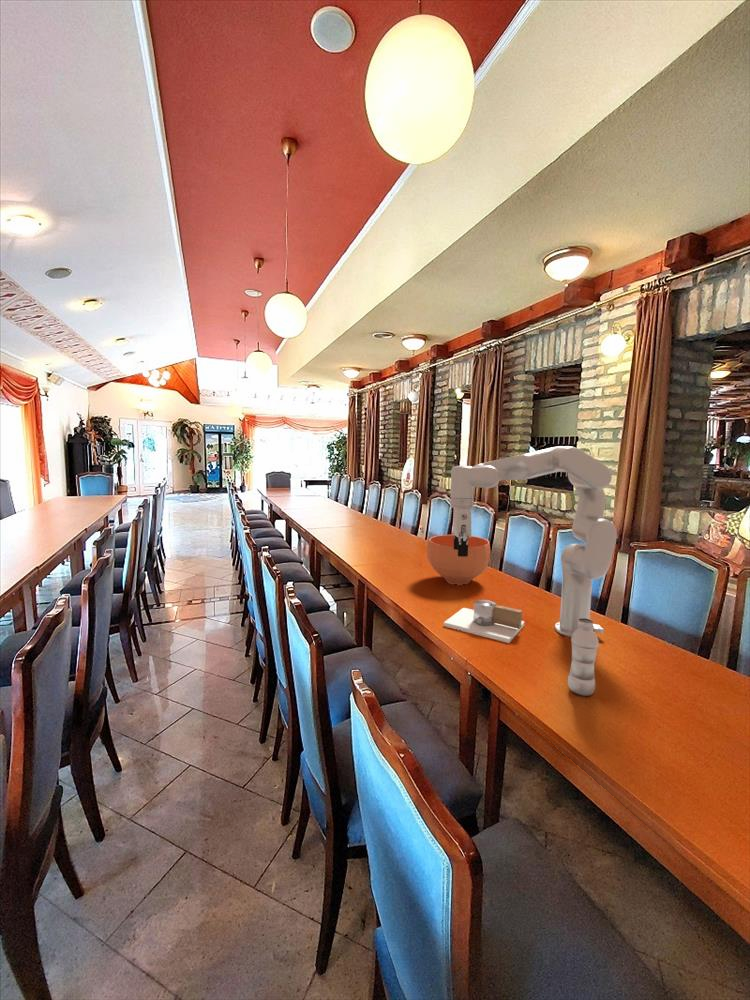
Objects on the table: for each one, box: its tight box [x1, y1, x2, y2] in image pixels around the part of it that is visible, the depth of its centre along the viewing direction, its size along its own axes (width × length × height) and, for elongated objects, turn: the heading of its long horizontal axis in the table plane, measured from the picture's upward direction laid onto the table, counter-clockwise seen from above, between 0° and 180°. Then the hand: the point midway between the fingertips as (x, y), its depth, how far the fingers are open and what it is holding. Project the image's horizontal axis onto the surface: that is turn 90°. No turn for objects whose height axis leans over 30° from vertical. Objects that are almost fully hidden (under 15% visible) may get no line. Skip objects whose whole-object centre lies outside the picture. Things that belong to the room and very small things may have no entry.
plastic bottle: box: [567, 618, 599, 696], centre depth 114 cm, size 6×7×20 cm
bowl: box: [426, 534, 492, 586], centre depth 210 cm, size 30×30×20 cm
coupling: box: [473, 599, 523, 629], centre depth 155 cm, size 17×10×7 cm, turn 55°
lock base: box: [443, 607, 525, 644], centre depth 158 cm, size 24×18×2 cm
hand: (460, 552), depth 146 cm, fingers open, 9 cm apart
